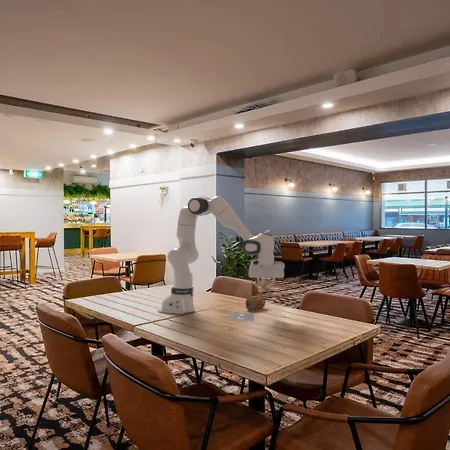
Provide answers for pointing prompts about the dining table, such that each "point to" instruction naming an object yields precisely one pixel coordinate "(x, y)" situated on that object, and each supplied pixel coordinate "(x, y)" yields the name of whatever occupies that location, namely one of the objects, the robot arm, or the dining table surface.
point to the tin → (255, 303)
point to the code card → (241, 316)
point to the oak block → (266, 284)
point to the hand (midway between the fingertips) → (266, 285)
